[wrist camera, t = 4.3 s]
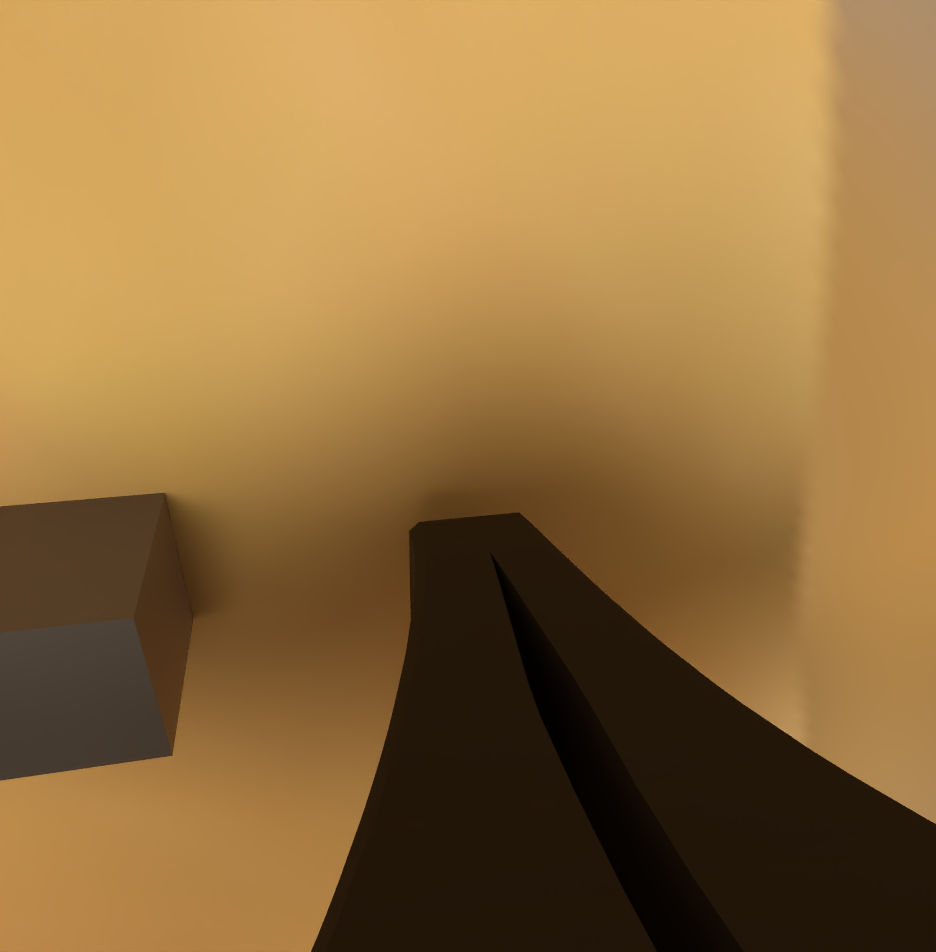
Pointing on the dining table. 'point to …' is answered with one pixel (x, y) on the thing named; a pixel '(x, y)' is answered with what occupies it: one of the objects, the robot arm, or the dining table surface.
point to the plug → (89, 634)
